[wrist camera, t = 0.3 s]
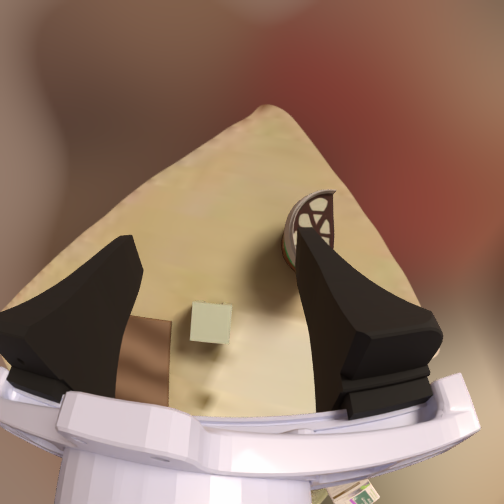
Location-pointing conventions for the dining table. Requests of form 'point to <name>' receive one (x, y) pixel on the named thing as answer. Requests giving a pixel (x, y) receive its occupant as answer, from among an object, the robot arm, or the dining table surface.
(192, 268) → the dining table surface
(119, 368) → the serving board
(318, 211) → the food container
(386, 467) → the robot arm
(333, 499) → the syrup box
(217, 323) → the pale slotted block
